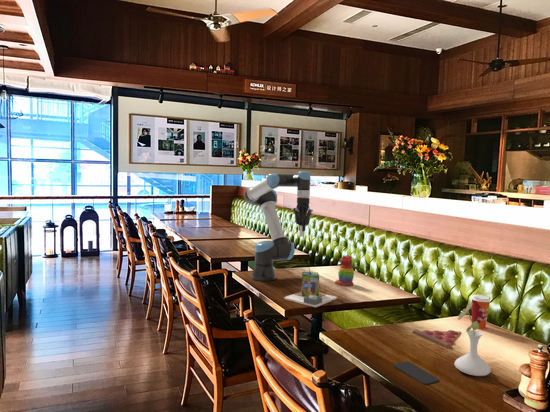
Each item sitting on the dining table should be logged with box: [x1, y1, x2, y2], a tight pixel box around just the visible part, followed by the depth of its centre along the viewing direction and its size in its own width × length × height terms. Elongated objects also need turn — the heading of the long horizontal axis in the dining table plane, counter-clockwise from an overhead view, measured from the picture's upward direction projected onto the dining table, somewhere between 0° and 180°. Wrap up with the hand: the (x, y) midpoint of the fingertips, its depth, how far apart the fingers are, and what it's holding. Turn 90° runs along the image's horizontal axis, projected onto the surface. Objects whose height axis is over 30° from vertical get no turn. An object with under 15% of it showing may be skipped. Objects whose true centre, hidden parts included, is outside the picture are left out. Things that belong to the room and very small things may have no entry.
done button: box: [309, 295, 317, 300], centre depth 215 cm, size 4×4×2 cm
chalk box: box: [301, 268, 320, 296], centre depth 229 cm, size 9×9×15 cm
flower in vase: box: [454, 301, 492, 377], centre depth 144 cm, size 13×11×25 cm
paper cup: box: [470, 294, 491, 330], centre depth 189 cm, size 8×8×14 cm
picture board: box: [283, 290, 338, 308], centre depth 224 cm, size 20×21×4 cm
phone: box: [393, 360, 440, 386], centre depth 142 cm, size 7×1×15 cm
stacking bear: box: [334, 255, 355, 287], centre depth 257 cm, size 11×10×18 cm
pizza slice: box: [412, 328, 462, 349], centre depth 177 cm, size 18×2×20 cm
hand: (301, 236), depth 252 cm, fingers closed
